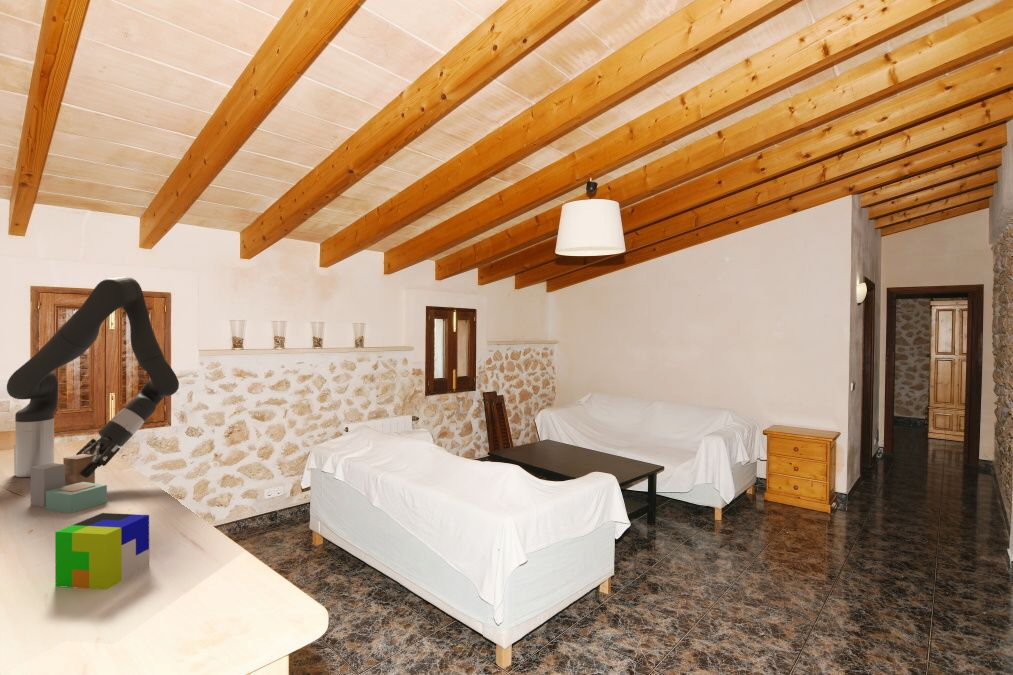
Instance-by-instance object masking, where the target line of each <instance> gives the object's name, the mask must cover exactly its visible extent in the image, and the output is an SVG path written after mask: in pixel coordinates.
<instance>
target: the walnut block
mask: <svg viewBox="0 0 1013 675" xmlns="http://www.w3.org/2000/svg"><path fill="white" fill-rule="evenodd" d="M93 458H94V456H93V455H88V454H79V455H76V454H75V455H70V456H66V457H63V459H62V460H63V461H62V462H63V463H62V464H65V486H68V485H72V484H76V483H80V482H88V483H96V470H95V471H94V472H93V473H92V474H91V475H90V476H89V477H87V478H85V477H83V476H82V475H80V472H81V471H82V470H83V469H84V468H85V467H86V466H87V465H88V464H89V463H92V460H93Z"/></svg>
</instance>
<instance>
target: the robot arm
mask: <svg viewBox="0 0 1013 675" xmlns="http://www.w3.org/2000/svg"><path fill="white" fill-rule="evenodd" d="M120 308H123V310H124V311H125V314H126V317H127V318H128V323H129V328H130V329H129V331H130V346H131V349H132V352H133V354H134V356H135V359H136V360H137V362H138V365H139V367H140V368H141V370H142V371H145V372H146V374H147V375H148V377H149V380H148V381H147V382H146V383H145V384H144V385H143V386H142V388H141V389H140V390H139V392H138V393H137V395H136V396H135V397H133V399H131V400H130V401H129V402H128V403H127V404H126V405H125V406H124V408H123V409H121V410H120V411H118V412H117V413H116V414H115V415H114V416H113V417H111V419H109V421H108V422H107V423H106V424H105V425H104V426H103V427H102V428H101V429H100V430H99V431H98V435H99V436H100V438H99V439H98V440H96V439H95V438H91V439H90V440H89V441H88V442H87V443H86V444H85V445H84V446H83V447H82V448H81V449H80V450H79V451H78V452H76V453H75V455H79V454H88V455H93V456H94V458H93V460H92V463H89V464H88V465H87V466H86V467H85V468H84V469H83V470H82V471H81V472H80V475H82V476H83V477H85V478H87V477H89V476H90V475H91V474H92V473H93V472H94V471H95V472H96V470H97V469H98V468H100V467H102V466H103V467H105V466H107V464H108V463H109V462H110V461H111V460H112V459H113V458H114V457H115V455H116V454H117V453H119V451H120V450H121V447H124V445H126V443H127V442H129V441H130V439H131V438H132V437H133V436H134V435H135V434H136V433H137V432H138V431H139V430H140V429H141V427H142V426H143V425H144V424H145V423H146V421H147V420H148V419H149V418H151V416H152V415H153V414H154V413H155V411H156V409H157V405H159V404H160V402H161V401H162V400H163V399H164V398H166V397H169V396H173V395H174V394H176V393H177V391H178V390H179V387H180V383H179V379H178V377H177V375H176V373H175V371H174V370H173V369H172V366H170V364H169V363H168V361H167V360H166V358H165V355H164V352H162V349H161V347H160V344H159V343H158V339H157V338H156V335H155V332H154V329H153V326H152V323H151V319H150V315H149V312H148V308H147V304H146V301H145V296H144V292H143V290H142V287H141V284H140V283H139V282H138V281H137V280H136V279H134V277H133V278H132V277H129V276H119V277H117V276H116V277H110V278H109V277H108V278H105V279H103V280H102V281H99V283H98V284H96V286H95V287H94V288H93V290H92V291H91V293H90V294H89V295H88V297H87V298H86V300H85V301H84V302H83V303H82V305H81V306H80V307H79V308H78V309H77V310H76V312H74V313H73V314H72V316H71V317H69V318H68V320H67V321H65V322H64V323H63V324H62V326H61V327H60V328H59V329H57V331H55V333H54V334H53V335H52V337H50V339H49V340H48V341H47V342H46V343H45V344H44V345H43V346H42V347H41V348H40V349H39V350H38V351H37V352H36V353H35V354H34V355H33V356H32V357H31V358H30V359H29V360H27V361H26V362H25V363H24V364H23V365H21V366H20V367H18V369H16V370H15V371H14V372H13V373H12V374H11V375H10V376H9V379H8V381H7V383H6V391H7V394H8V395H9V396H10V397H12V398H13V399H16V400H30V401H29V402H28V404H27V405H26V406H24V407H23V408H22V409H20V410H17V411H16V412H15V416H14V419H15V420H14V421H15V427H14V428H15V444H14V445H13V456H14V458H13V465H14V466H13V469H14V470H13V471H14V472H13V473H14V475H15V477H17V478H31V467H35V466H40V465H44V464H49V463H55V412H56V410H57V407H58V396H59V394H58V393H59V382H58V377H57V375H56V373H55V372H54V371H55V370H57V369H59V368H60V367H63V366H65V365H67V364H68V363H71V362H73V361H74V360H76V359H78V358H79V357H80V356H82V355H83V354H85V353H86V352H87V350H88V349H89V348H90V347H91V346H92V345H93V344H94V343H95V341H96V340H97V338H98V337H99V334H100V329H101V326H102V325H103V323H104V321H106V319H107V318H108V317H110V315H111V314H112V313H114V312H115V311H116V310H118V309H120Z"/></svg>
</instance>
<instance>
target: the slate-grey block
mask: <svg viewBox="0 0 1013 675" xmlns="http://www.w3.org/2000/svg"><path fill="white" fill-rule="evenodd" d="M64 486H65V464H63V463H56V462H54V463H49V464H44V465H40V466H35V467H31V477H30V506H32V507H40V508H46V491H49V490H53V489H57V488H61V487H64Z"/></svg>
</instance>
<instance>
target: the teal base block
mask: <svg viewBox="0 0 1013 675" xmlns="http://www.w3.org/2000/svg"><path fill="white" fill-rule="evenodd" d="M107 498H108V485H107V484H103V483H96V482H95V483H88V482H80V483H76V484H72V485H68V486H64V487H61V488H57V489H53V490H49V491H46V507H45V510H46V511H47V510H48V511H54V512H60V513H67V514H73V513H77V512H80V511H82V510H85V509H89V508H93V507H95V506H99V505H102V504H106V503H107V502H108V501H107V500H108V499H107Z"/></svg>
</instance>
